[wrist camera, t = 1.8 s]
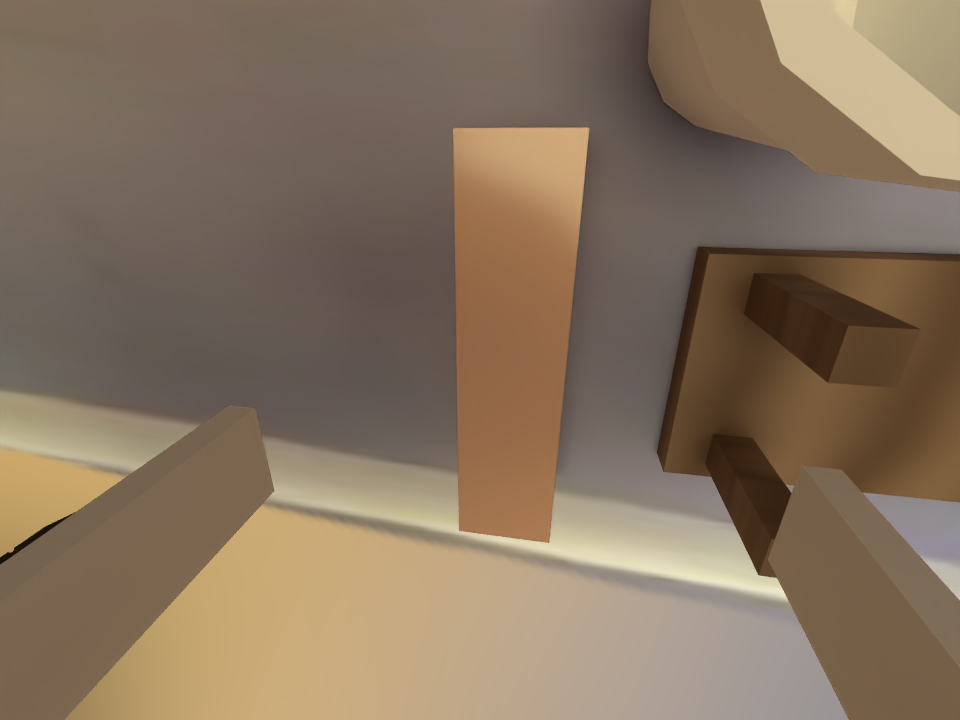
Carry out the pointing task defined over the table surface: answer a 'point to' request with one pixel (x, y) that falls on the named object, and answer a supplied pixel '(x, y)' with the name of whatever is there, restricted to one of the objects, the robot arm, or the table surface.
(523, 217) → the clay bar
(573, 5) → the table surface
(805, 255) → the rack
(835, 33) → the foam cup
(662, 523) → the table surface
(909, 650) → the robot arm
